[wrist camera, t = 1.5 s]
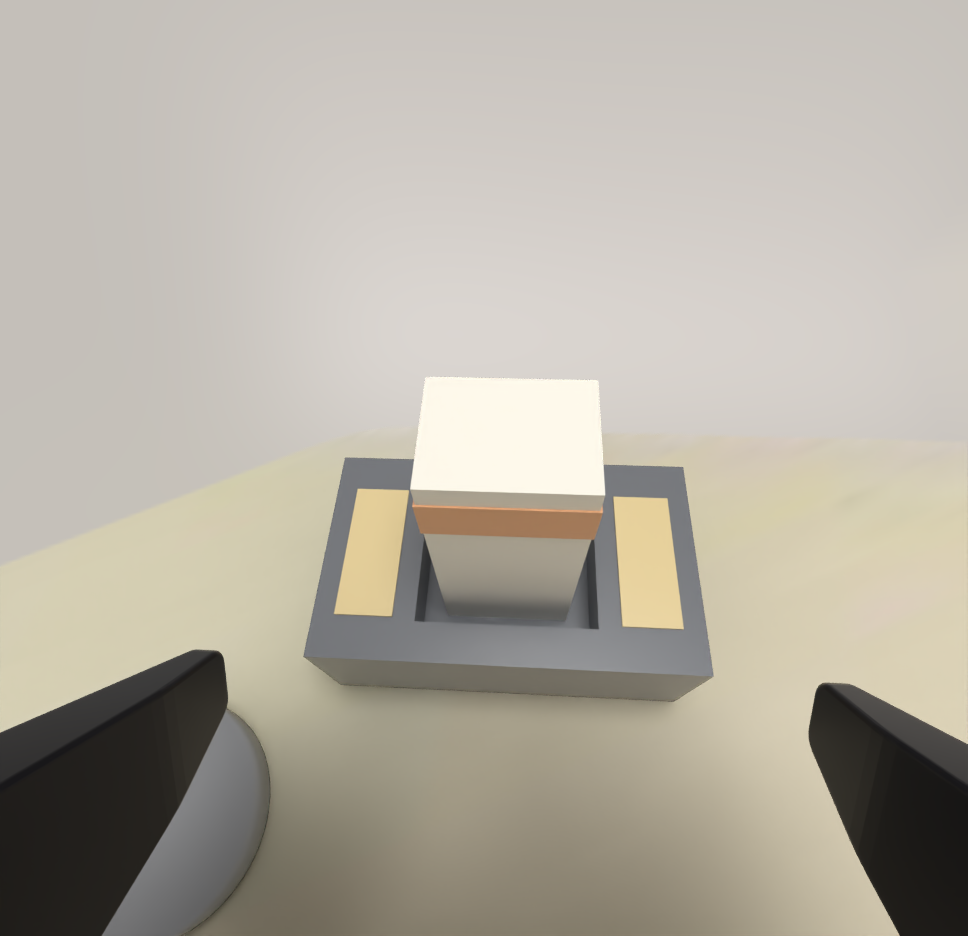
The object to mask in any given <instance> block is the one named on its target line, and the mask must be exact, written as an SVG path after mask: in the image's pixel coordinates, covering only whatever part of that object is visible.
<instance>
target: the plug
mask: <svg viewBox="0 0 968 936" xmlns="http://www.w3.org/2000/svg"><path fill="white" fill-rule="evenodd" d="M410 491H411V494H412V497H413V505H412V508H413V511H414V514H415V517H416V521H417V524H418V527H419V530H420V533H421V534H424V537H425V540H426V544H427V547H428V550H429V554H430V557H431V560H432V563H433V567H434V570H435V573H436V577H437V580H438V583H439V587H440V590H441V593H442V596H443V600H444V603H445V606H446V610H447V613H448V615H450V616H473V617H495V618H518V619H541V620H564V621H566V618H567V615H568V612H569V608H570V605H571V602H572V599H573V596H574V593H575V589H576V586H577V583H578V580H579V577H580V574H581V571H582V567H583V564H584V561H585V558H586V555H587V552H588V549H589V545H590V542H591V540H594V539H595V536H596V533H597V530H598V527H599V524H600V521H601V517H602V514H603V506H602V504H603V501H604V498H605V482H604V466H603V450H602V434H601V419H600V403H599V387H598V380H559V379H508V378H503V379H502V378H458V377H425V384H424V391H423V399H422V407H421V413H420V421H419V428H418V435H417V442H416V450H415V457H414V464H413V472H412V479H411V486H410Z"/></svg>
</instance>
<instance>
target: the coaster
mask: <svg viewBox="0 0 968 936" xmlns="http://www.w3.org/2000/svg"><path fill="white" fill-rule="evenodd" d="M269 801H270V779H269V771H268V765H267V762H266V758H265V754H264V752H263V749H262V747H261V745H260V742H259V740H258V739H257V737H256V735H255V734H254V732H253V731H252V730H251V728H250V727H249V726H248V725H247V724H246V723H245V722H244V721H243V720H242V719H241V718H240V717H239V716H237V715H236V714H235V713H233V712H231V711H230V710H228V709H226V712H225V714H224V716H223V719H222V721H221V723H220V725H219V727H218V729H217V731H216V733H215V735H214V737H213V739H212V741H211V743H210V745H209V748H208V750H207V752H206V754H205V756H204V758H203V760H202V762H201V764H200V766H199V768H198V770H197V772H196V774H195V777H194V779H193V781H192V783H191V785H190V787H189V789H188V791H187V793H186V795H185V797H184V799H183V801H182V803H181V805H180V807H179V808H178V810H177V812H176V814H175V815H174V817H173V819H172V821H171V822H170V824H169V826H168V827H167V829H166V831H165V832H164V834H163V836H162V837H161V839H160V841H159V842H158V844H157V846H156V847H155V849H154V851H153V852H152V854H151V855H150V857H149V859H148V860H147V862H146V864H145V865H144V867H143V869H142V870H141V872H140V874H139V875H138V877H137V879H136V880H135V882H134V884H133V885H132V887H131V889H130V890H129V892H128V893H127V895H126V897H125V898H124V900H123V902H122V903H121V905H120V907H119V908H118V910H117V912H116V913H115V915H114V917H113V918H112V920H111V922H110V923H109V925H108V927H107V928H106V930H105V931H104V933H103V935H102V936H182V935H183V934H185V933H187V932H189V931H191V930H192V929H194V928H195V927H196V926H198V925H199V924H201V923H202V922H203V921H205V920H206V919H207V918H208V917H209V916H211V915H212V914H213V913H214V912H215V911H216V910H217V909H218V908H219V907H220V906H221V905H222V904H223V903H224V902H225V901H226V899H227V898H228V897H229V896H230V895H231V894H232V892H233V891H234V890H235V888H236V887H237V885H238V884H239V883H240V881H241V880H242V878H243V877H244V875H245V873H246V872H247V870H248V868H249V866H250V865H251V863H252V861H253V859H254V856H255V854H256V852H257V850H258V847H259V845H260V842H261V839H262V836H263V833H264V830H265V825H266V821H267V816H268V810H269Z"/></svg>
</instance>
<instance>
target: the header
mask: <svg viewBox="0 0 968 936" xmlns="http://www.w3.org/2000/svg"><path fill="white" fill-rule="evenodd" d="M413 464H414V460H413V459H377V458H345V461H344V466H343V470H342V475H341V480H340V485H339V489H338V494H337V499H336V504H335V509H334V513H333V518H332V523H331V528H330V532H329V537H328V542H327V547H326V551H325V556H324V561H323V566H322V570H321V575H320V580H319V585H318V590H317V594H316V599H315V604H314V609H313V613H312V618H311V623H310V628H309V632H308V637H307V642H306V647H305V651H304V656H303V657H305V658H306V659H307V660H309V661H310V662H311V663H313V664H314V665H315V666H317V667H318V668H319V669H321V670H322V671H323V672H325V673H326V674H328V675H329V676H330V677H332V678H333V679H334V680H336V681H337V682H338V683H340V684H341V685H360V686H380V687H399V688H419V689H439V690H458V691H478V692H497V693H517V694H537V695H556V696H576V697H596V698H615V699H635V700H655V701H675V700H677V699H679V698H680V697H682V696H683V695H685V694H687V693H688V692H690V691H691V690H693V689H694V688H696V687H698V686H699V685H701V684H702V683H704V682H706V681H707V680H709V679H710V678H712V677H713V669H712V662H711V655H710V648H709V641H708V635H707V628H706V621H705V614H704V607H703V600H702V594H701V587H700V580H699V573H698V566H697V559H696V552H695V546H694V539H693V532H692V525H691V518H690V511H689V505H688V498H687V491H686V484H685V477H684V470H683V467H662V466H627V465H603V466H604V482H605V498H604V501H603V504H602V506H603V514H602V517H601V521H600V524H599V527H598V530H597V533H596V536H595V539H594V540H591V542H590V545H589V549H588V552H587V555H586V558H585V561H584V564H583V567H582V571H581V574H580V577H579V580H578V583H577V586H576V589H575V593H574V596H573V599H572V602H571V605H570V608H569V612H568V615H567V618H566V621H564V620H541V619H518V618H495V617H473V616H450V615H448V613H447V610H446V606H445V603H444V600H443V596H442V593H441V590H440V587H439V583H438V580H437V577H436V573H435V570H434V567H433V563H432V560H431V557H430V554H429V550H428V547H427V544H426V540H425V537H424V534H421V533H420V530H419V527H418V524H417V521H416V517H415V514H414V511H413V508H412V505H413V497H412V494H411V491H410V486H411V479H412V472H413Z"/></svg>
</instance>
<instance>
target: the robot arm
mask: <svg viewBox="0 0 968 936" xmlns="http://www.w3.org/2000/svg"><path fill="white" fill-rule="evenodd" d="M227 703H228V692H227V683H226V673H225V664H224V658H223V656H222V654H221V653H220V652H219V651H215V650H192V651H189V652H187V653H184V654H182V655H180V656H177V657H175V658H173V659H170V660H168V661H166V662H164V663H161V664H159V665H157V666H154V667H152V668H150V669H147V670H145V671H143V672H140V673H138V674H136V675H133V676H131V677H129V678H126V679H124V680H122V681H119V682H117V683H115V684H112V685H110V686H108V687H105V688H103V689H101V690H98V691H96V692H94V693H91V694H89V695H87V696H84V697H82V698H80V699H78V700H75V701H73V702H71V703H68V704H66V705H64V706H61V707H59V708H57V709H54V710H52V711H50V712H47V713H45V714H43V715H40V716H38V717H36V718H33V719H31V720H29V721H26V722H24V723H22V724H19V725H17V726H15V727H12V728H10V729H8V730H5V731H3V732H1V733H0V936H102V935H103V933H104V931H105V930H106V928H107V927H108V925H109V923H110V922H111V920H112V918H113V917H114V915H115V913H116V912H117V910H118V908H119V907H120V905H121V903H122V902H123V900H124V898H125V897H126V895H127V893H128V892H129V890H130V889H131V887H132V885H133V884H134V882H135V880H136V879H137V877H138V875H139V874H140V872H141V870H142V869H143V867H144V865H145V864H146V862H147V860H148V859H149V857H150V855H151V854H152V852H153V851H154V849H155V847H156V846H157V844H158V842H159V841H160V839H161V837H162V836H163V834H164V832H165V831H166V829H167V827H168V826H169V824H170V822H171V821H172V819H173V817H174V815H175V814H176V812H177V810H178V808H179V807H180V805H181V803H182V801H183V799H184V797H185V795H186V793H187V791H188V789H189V787H190V785H191V783H192V781H193V779H194V777H195V774H196V772H197V770H198V768H199V766H200V764H201V762H202V760H203V758H204V756H205V754H206V752H207V750H208V748H209V745H210V743H211V741H212V739H213V737H214V735H215V733H216V731H217V729H218V727H219V725H220V723H221V721H222V719H223V716H224V714H225V712H226V708H227ZM809 742H810V746H811V749H812V752H813V754H814V757H815V759H816V761H817V764H818V766H819V768H820V771H821V773H822V775H823V778H824V780H825V782H826V785H827V787H828V790H829V792H830V794H831V797H832V799H833V801H834V804H835V806H836V808H837V811H838V813H839V815H840V818H841V820H842V823H843V825H844V827H845V830H846V832H847V834H848V837H849V839H850V841H851V843H852V845H853V848H854V850H855V852H856V854H857V856H858V858H859V860H860V862H861V864H862V866H863V868H864V870H865V872H866V874H867V876H868V877H869V879H870V881H871V883H872V885H873V887H874V889H875V890H876V892H877V894H878V896H879V898H880V900H881V902H882V903H883V905H884V907H885V909H886V911H887V913H888V915H889V916H890V918H891V920H892V922H893V924H894V926H895V928H896V929H897V931H898V933H899V935H900V936H968V744H966V743H964V742H962V741H960V740H958V739H956V738H954V737H952V736H951V735H949V734H947V733H945V732H943V731H941V730H939V729H937V728H935V727H933V726H931V725H929V724H927V723H925V722H923V721H921V720H919V719H918V718H916V717H914V716H912V715H910V714H908V713H906V712H904V711H902V710H900V709H898V708H896V707H894V706H892V705H890V704H888V703H887V702H885V701H883V700H881V699H879V698H877V697H875V696H873V695H871V694H869V693H867V692H865V691H863V690H861V689H859V688H857V687H856V686H853V685H850V684H842V683H822V684H821V685H819V686H818V688H817V690H816V693H815V698H814V704H813V709H812V715H811V720H810V725H809Z"/></svg>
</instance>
